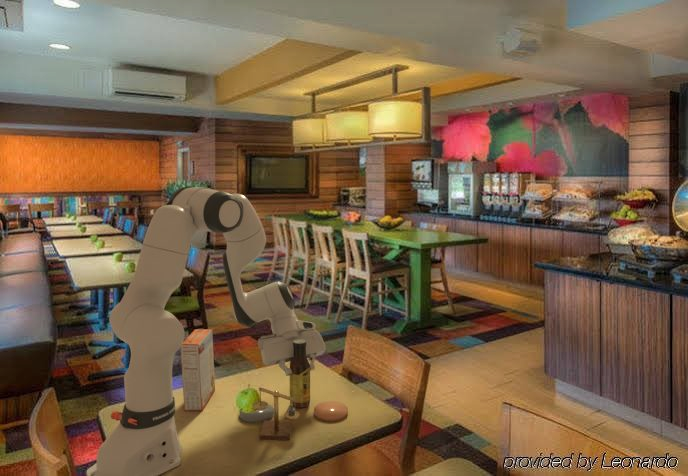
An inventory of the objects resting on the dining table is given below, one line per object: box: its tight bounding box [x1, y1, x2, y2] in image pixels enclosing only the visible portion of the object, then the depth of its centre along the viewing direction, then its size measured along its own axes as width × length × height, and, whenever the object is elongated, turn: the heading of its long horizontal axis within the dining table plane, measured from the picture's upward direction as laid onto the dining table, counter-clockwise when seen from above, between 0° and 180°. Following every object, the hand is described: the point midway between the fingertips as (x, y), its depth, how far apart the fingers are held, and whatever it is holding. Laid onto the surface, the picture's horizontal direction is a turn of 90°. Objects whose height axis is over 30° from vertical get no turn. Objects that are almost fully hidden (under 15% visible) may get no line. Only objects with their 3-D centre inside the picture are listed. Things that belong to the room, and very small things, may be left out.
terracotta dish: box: [313, 400, 349, 422], centre depth 155 cm, size 10×10×1 cm
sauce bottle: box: [289, 339, 311, 409], centre depth 159 cm, size 7×6×20 cm
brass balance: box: [252, 387, 300, 441], centre depth 143 cm, size 13×8×13 cm, turn 90°
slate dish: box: [239, 403, 274, 424], centre depth 154 cm, size 10×10×1 cm
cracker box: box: [180, 328, 216, 412], centre depth 161 cm, size 14×6×21 cm, turn 178°
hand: (300, 372), depth 159 cm, fingers closed on sauce bottle, 6 cm apart
